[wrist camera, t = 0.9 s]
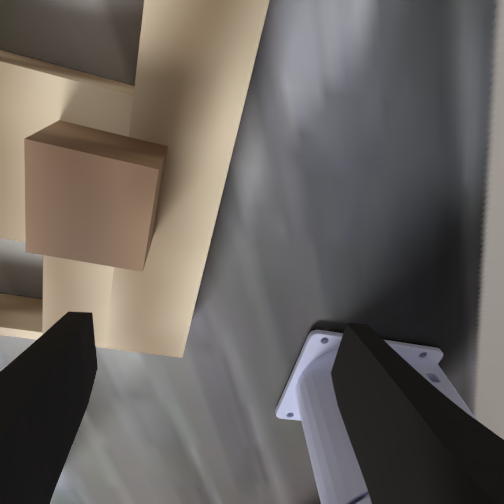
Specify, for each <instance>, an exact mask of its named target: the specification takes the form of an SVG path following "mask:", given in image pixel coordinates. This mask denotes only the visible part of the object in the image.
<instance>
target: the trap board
mask: <svg viewBox="0 0 504 504" xmlns="http://www.w3.org/2000/svg"><path fill="white" fill-rule="evenodd" d="M269 1H270V0H144V7H143V16H142V25H141V34H140V43H139V51H138V60H137V69H136V78H135V86H133V85H129V84H126V83H122V82H118V81H114V80H111V79H107V78H103V77H99V76H96V75H92V74H88V73H85V72H81V71H77V70H73V69H70V68H66V67H62V66H59V65H55V64H51V63H47V62H44V61H40V60H36V59H33V58H29V57H25V56H21V55H18V54H14V53H10V52H6V51H3V50H0V238H3V239H9V240H15V241H20V242H26V232H25V159H24V139H25V138H27V137H28V136H30V135H32V134H34V133H36V132H38V131H40V130H42V129H44V128H45V127H47V126H49V125H51V124H53V123H55V122H57V121H59V120H61V121H65V122H69V123H73V124H77V125H81V126H86V127H90V128H94V129H98V130H102V131H106V132H110V133H115V134H119V135H123V136H127V137H131V138H135V139H140V140H144V141H148V142H152V143H156V144H160V145H164V146H168V150H167V157H166V163H165V169H164V175H163V181H162V187H161V193H160V199H159V205H158V212H157V218H156V224H155V230H154V236H153V239H152V243H151V246H150V249H149V253H148V256H147V259H146V263H145V266H144V270H143V272H140V271H134V270H129V269H123V268H117V267H111V266H105V265H99V264H93V263H87V262H81V261H75V260H70V259H64V258H58V257H52V256H46V255H43V299H37V298H30V297H23V296H16V295H9V294H3V293H0V335H6V336H14V337H21V338H29V339H38V338H39V337H41V336H42V335H43V334H44V333H45V332H46V331H47V330H48V329H49V328H50V327H52V326H53V325H54V324H55V323H56V322H57V321H58V320H59V319H60V318H61V317H63V316H64V315H65V314H66V313H67V312H92V315H93V325H94V336H95V347H101V348H109V349H117V350H125V351H133V352H141V353H148V354H156V355H164V356H172V357H180V358H182V357H183V352H184V348H185V344H186V340H187V336H188V332H189V328H190V324H191V320H192V316H193V312H194V307H195V303H196V299H197V295H198V291H199V287H200V283H201V279H202V275H203V271H204V267H205V262H206V258H207V254H208V250H209V246H210V242H211V238H212V234H213V230H214V226H215V222H216V217H217V213H218V209H219V205H220V201H221V197H222V193H223V189H224V185H225V181H226V177H227V172H228V168H229V164H230V160H231V156H232V152H233V148H234V144H235V140H236V136H237V132H238V127H239V123H240V119H241V115H242V111H243V107H244V103H245V99H246V95H247V91H248V87H249V82H250V78H251V74H252V70H253V66H254V62H255V58H256V54H257V50H258V46H259V42H260V37H261V33H262V29H263V25H264V21H265V17H266V13H267V9H268V5H269Z"/></svg>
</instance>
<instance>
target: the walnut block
mask: <svg viewBox="0 0 504 504" xmlns="http://www.w3.org/2000/svg"><path fill="white" fill-rule="evenodd" d="M167 150H168V146H164V145H160V144H156V143H152V142H148V141H144V140H140V139H135V138H131V137H127V136H123V135H119V134H115V133H110V132H106V131H102V130H98V129H94V128H90V127H86V126H81V125H77V124H73V123H69V122H65V121H61V120H59V121H57V122H55V123H53V124H51V125H49V126H47V127H45V128H44V129H42V130H40V131H38V132H36V133H34V134H32V135H30V136H28V137H27V138H25V139H24V159H25V232H26V252H28V253H34V254H40V255H46V256H52V257H58V258H64V259H70V260H75V261H81V262H87V263H93V264H99V265H105V266H111V267H117V268H123V269H129V270H134V271H140V272H143V270H144V266H145V263H146V259H147V256H148V253H149V249H150V246H151V243H152V239H153V236H154V230H155V224H156V218H157V212H158V205H159V199H160V193H161V187H162V181H163V175H164V169H165V163H166V157H167Z"/></svg>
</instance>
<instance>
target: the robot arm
mask: <svg viewBox="0 0 504 504" xmlns="http://www.w3.org/2000/svg"><path fill="white" fill-rule="evenodd" d="M322 338H326V339H322ZM442 357H443V353H442V351H441V350H440V349H439V348H435V347H429V346H422V345H416V344H409V343H403V342H396V341H390V340H383V339H382V338H381V337H380V336H379V335H378V334H377V333H375V332H374V331H373V330H372V329H371V328H370V327H369V326H367V325H366V324H350V323H346V326H345V329H344V332H343V333H337V332H331V331H324V330H313V331H311V332H310V333H309V335H308V337H307V339H306V341H305V344H304V346H303V348H302V351H301V353H300V355H299V357H298V360H297V362H296V364H295V367H294V369H293V371H292V373H291V376H290V378H289V380H288V383H287V385H286V387H285V389H284V392H283V394H282V396H281V399H280V401H279V403H278V405H277V408H276V416H277V417H278V418H281V419H290V420H301V421H302V425H303V429H304V434H305V438H306V442H307V446H308V451H309V455H310V459H311V463H312V468H313V472H314V476H315V480H316V485H317V489H318V493H319V497H320V502H321V504H504V440H503V439H502V438H500V437H499V436H497V435H496V434H494V433H493V432H492V431H491V430H489V429H488V428H486V427H485V426H484V425H482V424H481V423H480V422H478V421H477V420H476V418H475V417H474V415H473V414H472V413H471V411H470V410H469V408H468V407H467V405H466V404H465V402H464V401H463V400H462V398H461V397H460V395H459V394H458V392H457V391H456V390H455V388H454V387H453V385H452V384H451V382H450V381H449V380H448V378H447V377H446V375H445V374H444V372H443V371H442V369H441V368H440V367H439V365H438V363H439V362H440V360H441V359H442ZM96 371H97V358H96V347H95V336H94V325H93V315H92V312H67V313H66V314H65V315H64V316H63V317H61V318H60V319H59V320H58V321H57V322H56V323H55V324H54V325H53V326H52V327H50V328H49V329H48V330H47V331H46V332H45V333H44V334H43V335H42V336H41V337H39V338H38V339H37V340H36V341H35V342H34V343H33V344H32V345H31V346H30V347H28V348H27V349H26V350H25V351H24V352H23V353H21V354H20V355H19V356H18V357H17V358H16V359H15V360H13V361H12V362H11V363H10V364H9V365H8V366H6V367H5V368H4V369H3V370H2V371H1V372H0V504H50V501H51V498H52V495H53V492H54V490H55V487H56V484H57V482H58V479H59V477H60V474H61V472H62V469H63V467H64V464H65V462H66V459H67V457H68V454H69V451H70V449H71V446H72V444H73V441H74V439H75V436H76V434H77V431H78V429H79V426H80V423H81V421H82V418H83V416H84V413H85V410H86V408H87V405H88V402H89V399H90V395H91V391H92V387H93V383H94V379H95V375H96Z"/></svg>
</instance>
